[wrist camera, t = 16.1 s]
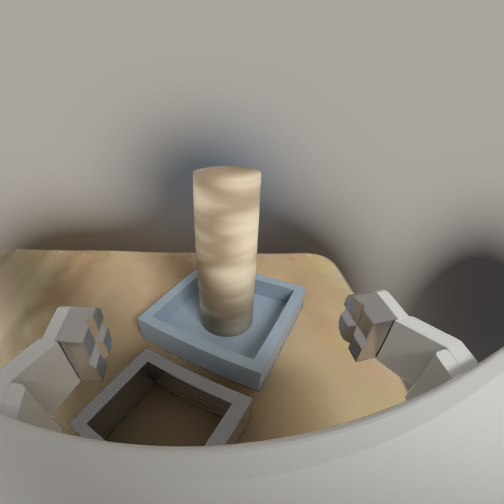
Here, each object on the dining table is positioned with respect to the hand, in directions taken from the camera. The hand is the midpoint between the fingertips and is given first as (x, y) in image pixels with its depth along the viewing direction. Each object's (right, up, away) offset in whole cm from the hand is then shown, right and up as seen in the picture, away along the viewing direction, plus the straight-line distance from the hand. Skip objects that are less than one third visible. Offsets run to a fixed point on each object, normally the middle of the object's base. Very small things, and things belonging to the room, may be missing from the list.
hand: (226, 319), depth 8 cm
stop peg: (-2, -4, +18) cm, 18 cm away
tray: (-2, -5, +18) cm, 19 cm away
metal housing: (-5, -11, +7) cm, 14 cm away
